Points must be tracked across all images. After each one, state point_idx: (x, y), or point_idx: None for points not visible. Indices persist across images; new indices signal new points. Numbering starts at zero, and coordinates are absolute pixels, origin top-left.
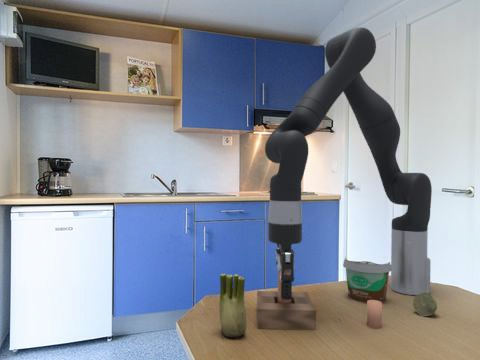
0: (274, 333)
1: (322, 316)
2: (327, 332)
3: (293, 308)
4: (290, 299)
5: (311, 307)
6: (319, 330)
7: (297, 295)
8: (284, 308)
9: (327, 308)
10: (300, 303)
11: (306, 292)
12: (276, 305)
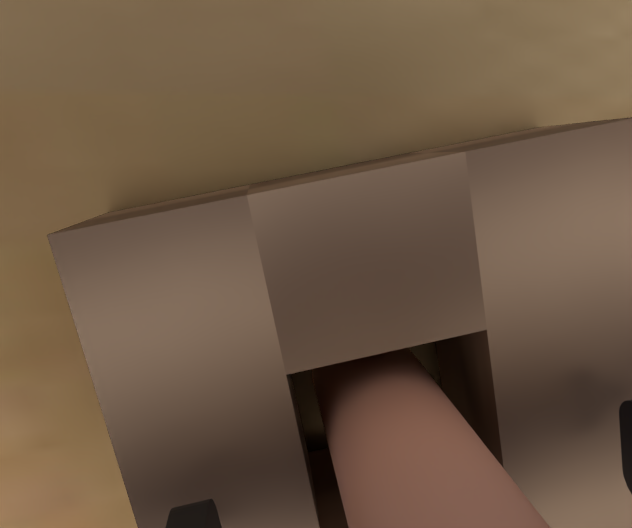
0: None
1: (258, 69)
2: (569, 38)
3: (621, 331)
4: (427, 390)
5: (571, 163)
6: (543, 99)
7: (223, 334)
8: None
9: (30, 13)
10: (474, 280)
11: (69, 241)
12: (565, 482)
